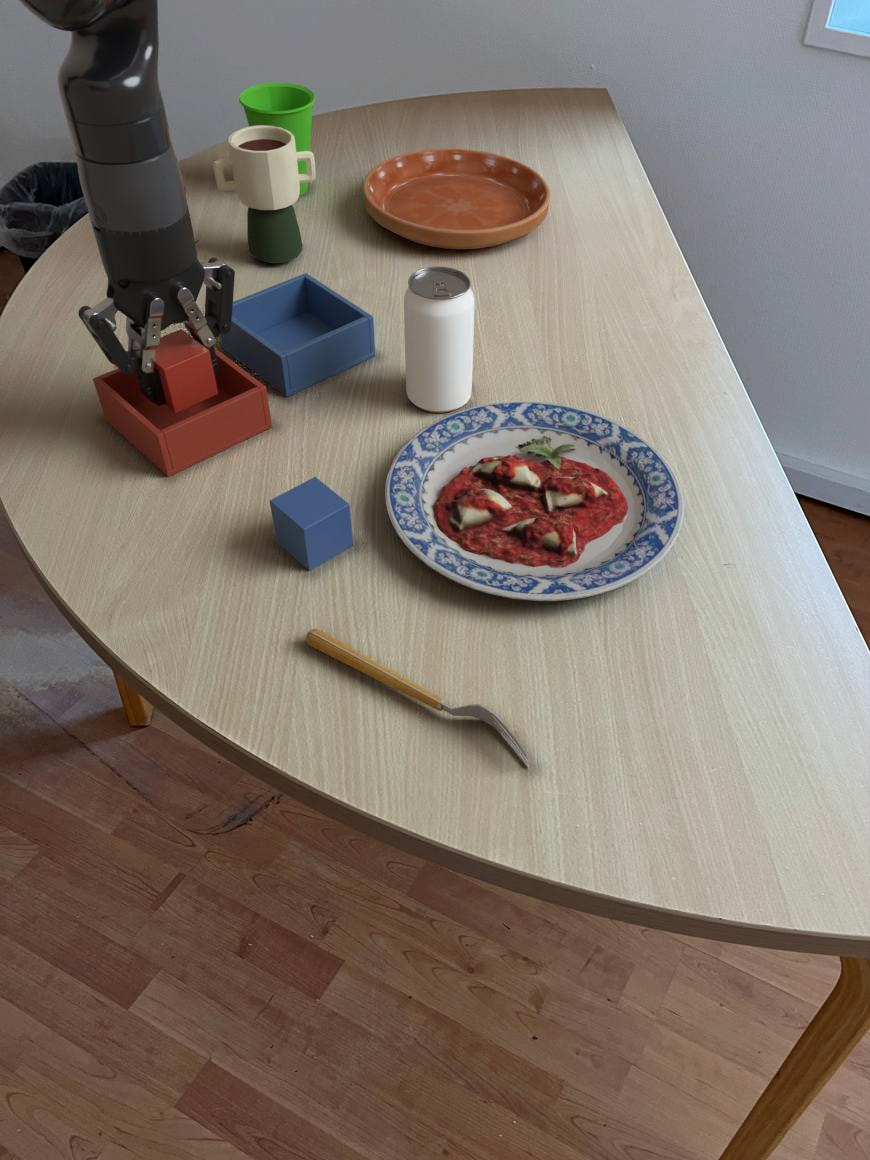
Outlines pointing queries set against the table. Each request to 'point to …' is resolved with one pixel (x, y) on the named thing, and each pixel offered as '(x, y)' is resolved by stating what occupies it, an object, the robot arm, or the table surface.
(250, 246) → the character mug
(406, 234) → the saucer
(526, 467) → the ceramic plate
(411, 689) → the fork
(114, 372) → the red bin
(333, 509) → the blue block
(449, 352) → the can
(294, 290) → the blue bin
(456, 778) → the table surface
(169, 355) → the red block
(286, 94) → the cup
